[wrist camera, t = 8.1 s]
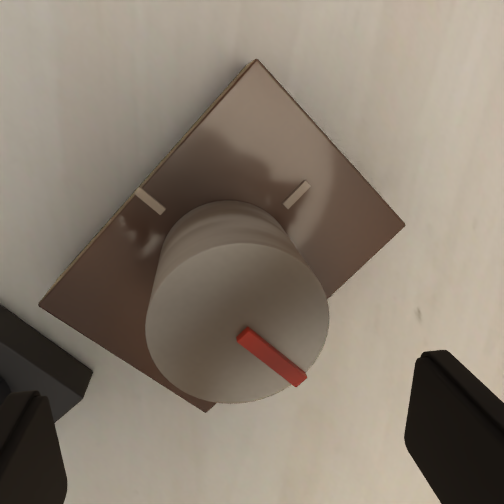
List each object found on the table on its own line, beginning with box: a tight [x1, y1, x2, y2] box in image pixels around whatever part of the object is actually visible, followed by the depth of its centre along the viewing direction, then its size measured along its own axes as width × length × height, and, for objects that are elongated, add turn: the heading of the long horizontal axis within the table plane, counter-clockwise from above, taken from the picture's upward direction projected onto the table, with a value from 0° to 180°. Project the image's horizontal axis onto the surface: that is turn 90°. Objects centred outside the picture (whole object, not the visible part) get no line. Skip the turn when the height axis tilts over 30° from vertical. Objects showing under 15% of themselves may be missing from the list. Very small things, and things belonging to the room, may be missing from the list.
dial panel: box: [38, 59, 405, 413], centre depth 19 cm, size 14×10×3 cm
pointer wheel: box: [145, 200, 329, 404], centre depth 15 cm, size 6×6×6 cm
